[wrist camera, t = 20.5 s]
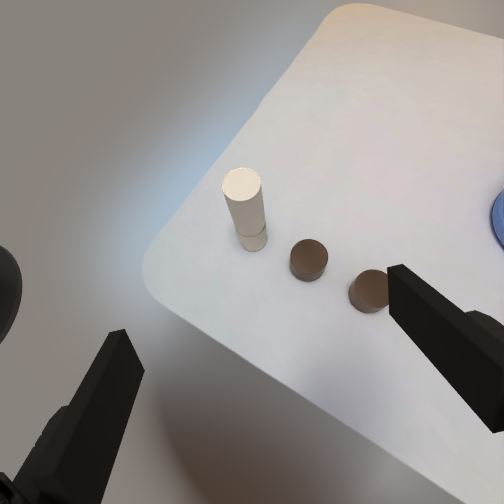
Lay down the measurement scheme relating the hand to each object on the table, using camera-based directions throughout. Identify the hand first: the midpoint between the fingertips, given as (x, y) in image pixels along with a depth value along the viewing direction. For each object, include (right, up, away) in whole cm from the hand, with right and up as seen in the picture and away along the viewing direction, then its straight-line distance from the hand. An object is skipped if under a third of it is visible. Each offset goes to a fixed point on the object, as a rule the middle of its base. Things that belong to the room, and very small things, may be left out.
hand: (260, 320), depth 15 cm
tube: (0, +5, +32) cm, 33 cm away
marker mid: (+8, +1, +30) cm, 31 cm away
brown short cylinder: (+16, -3, +27) cm, 31 cm away
